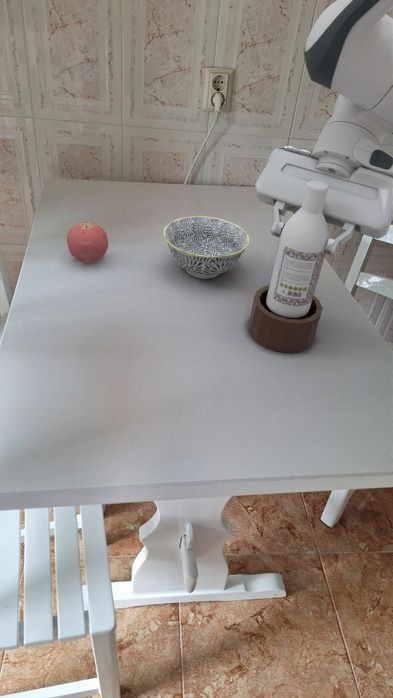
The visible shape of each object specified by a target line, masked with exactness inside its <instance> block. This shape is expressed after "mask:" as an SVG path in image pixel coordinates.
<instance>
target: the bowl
mask: <svg viewBox="0 0 393 698" xmlns="http://www.w3.org/2000/svg"><path fill="white" fill-rule="evenodd" d="M163 238H164V239H165V242H166V243H167V246H168V249H169V252H170V254H171V256H172V258H173V259H174V261H175V263H177V265H178V266H179V267H181V268H182V269H183V270H185V271H186V272H187V274H189V275H191V276H192V277H194V278H198V279H205V280H206V279H207V280H208V279H214V278H216V277H218V276H219V275H220V274H223V273H225V272H227V271H229V270H230V269H232V268H233V267H234V266H235V265H236V264H237V262H239V260H240V258H241V257H242V255H243V254H244V252H245V250H246V249H247V248H248V246H249V244H250V236H249V234H248V232H247V231H246V230H245V229H243V227H241V226H240V225H238V224H236V223H234V222H232V221H229V220H227V219H223V218H218V217H214V216H206V215H193V216H192V215H189V216H183V217H180V218H177V219H174V220H172V221H170V222H169V223H168V224H167V225H165V227H164V229H163Z"/></svg>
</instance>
